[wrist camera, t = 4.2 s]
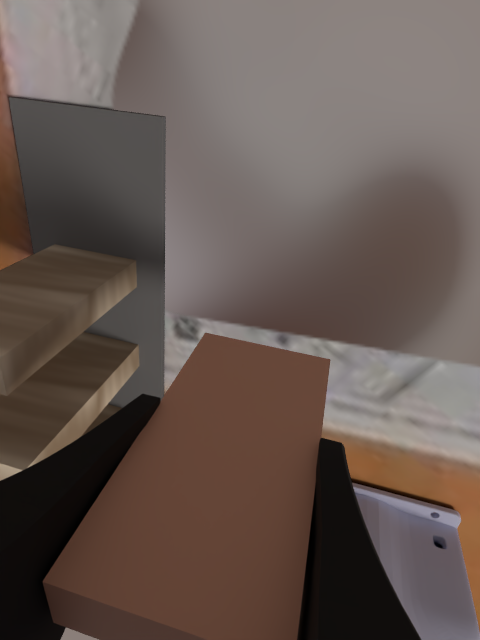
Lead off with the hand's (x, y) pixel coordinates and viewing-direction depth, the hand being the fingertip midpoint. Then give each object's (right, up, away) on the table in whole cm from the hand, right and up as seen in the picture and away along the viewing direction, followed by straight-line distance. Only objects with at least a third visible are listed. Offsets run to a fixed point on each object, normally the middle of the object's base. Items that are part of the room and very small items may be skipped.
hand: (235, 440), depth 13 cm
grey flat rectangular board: (-8, +3, +13) cm, 16 cm away
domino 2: (-8, +2, +13) cm, 16 cm away
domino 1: (-8, +7, +11) cm, 15 cm away
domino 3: (+1, +2, +4) cm, 4 cm away
